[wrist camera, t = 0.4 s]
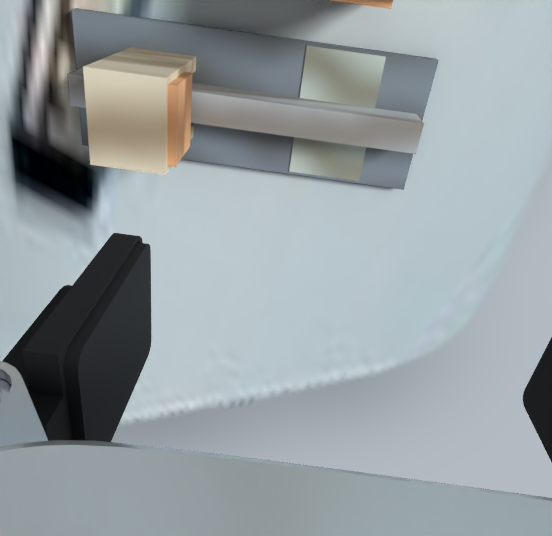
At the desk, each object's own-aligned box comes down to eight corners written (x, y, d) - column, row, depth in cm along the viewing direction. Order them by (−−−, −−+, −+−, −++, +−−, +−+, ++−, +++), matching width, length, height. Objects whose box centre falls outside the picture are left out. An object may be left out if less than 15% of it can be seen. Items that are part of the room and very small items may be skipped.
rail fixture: (76, 8, 33) (5, 18, 25) (435, 58, 33) (472, 84, 25) (86, 141, 37) (29, 184, 30) (401, 185, 38) (424, 238, 30)
